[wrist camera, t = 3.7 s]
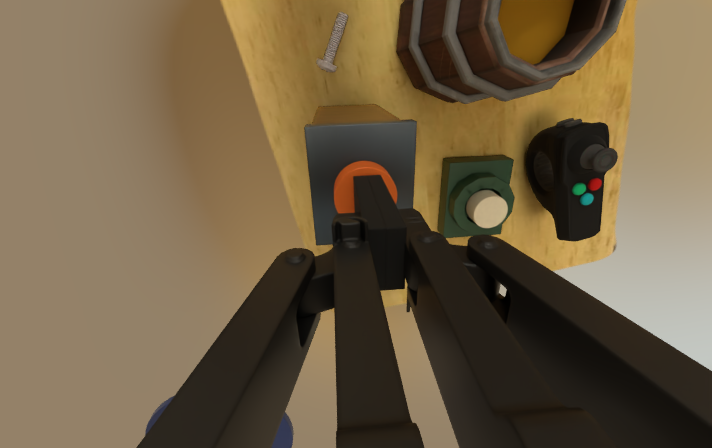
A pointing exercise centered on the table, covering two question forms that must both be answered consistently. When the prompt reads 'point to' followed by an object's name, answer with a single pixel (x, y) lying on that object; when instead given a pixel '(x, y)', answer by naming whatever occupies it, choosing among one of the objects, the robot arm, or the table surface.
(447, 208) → the switch far
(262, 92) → the table surface
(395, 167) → the switch near
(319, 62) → the screw
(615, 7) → the mug
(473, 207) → the button far
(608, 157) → the controller
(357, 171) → the button near
